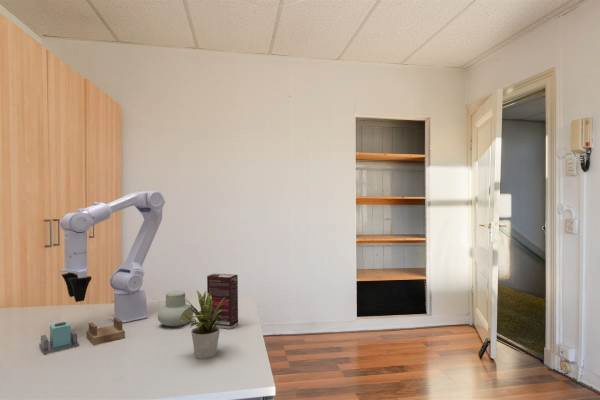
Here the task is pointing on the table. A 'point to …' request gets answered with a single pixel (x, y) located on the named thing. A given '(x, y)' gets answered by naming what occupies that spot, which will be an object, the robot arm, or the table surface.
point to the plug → (60, 334)
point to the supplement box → (224, 298)
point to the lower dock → (48, 348)
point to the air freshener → (175, 310)
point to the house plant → (204, 327)
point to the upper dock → (105, 332)
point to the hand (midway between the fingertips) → (76, 298)
